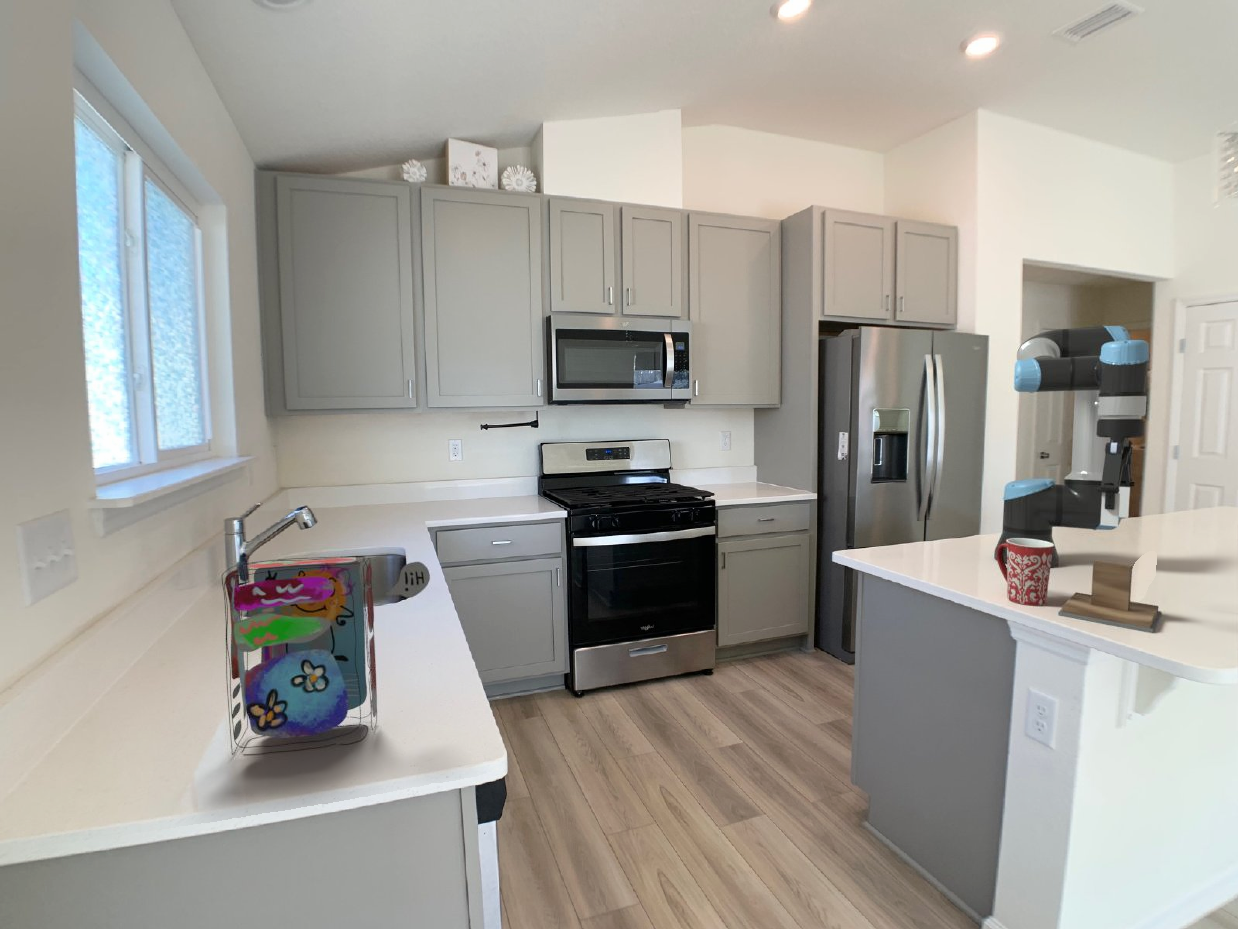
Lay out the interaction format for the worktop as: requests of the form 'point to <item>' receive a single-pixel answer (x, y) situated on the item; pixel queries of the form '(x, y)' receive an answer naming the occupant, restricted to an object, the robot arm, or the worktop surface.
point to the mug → (1026, 569)
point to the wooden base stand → (1111, 598)
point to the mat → (1115, 622)
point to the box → (305, 643)
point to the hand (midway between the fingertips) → (1114, 521)
